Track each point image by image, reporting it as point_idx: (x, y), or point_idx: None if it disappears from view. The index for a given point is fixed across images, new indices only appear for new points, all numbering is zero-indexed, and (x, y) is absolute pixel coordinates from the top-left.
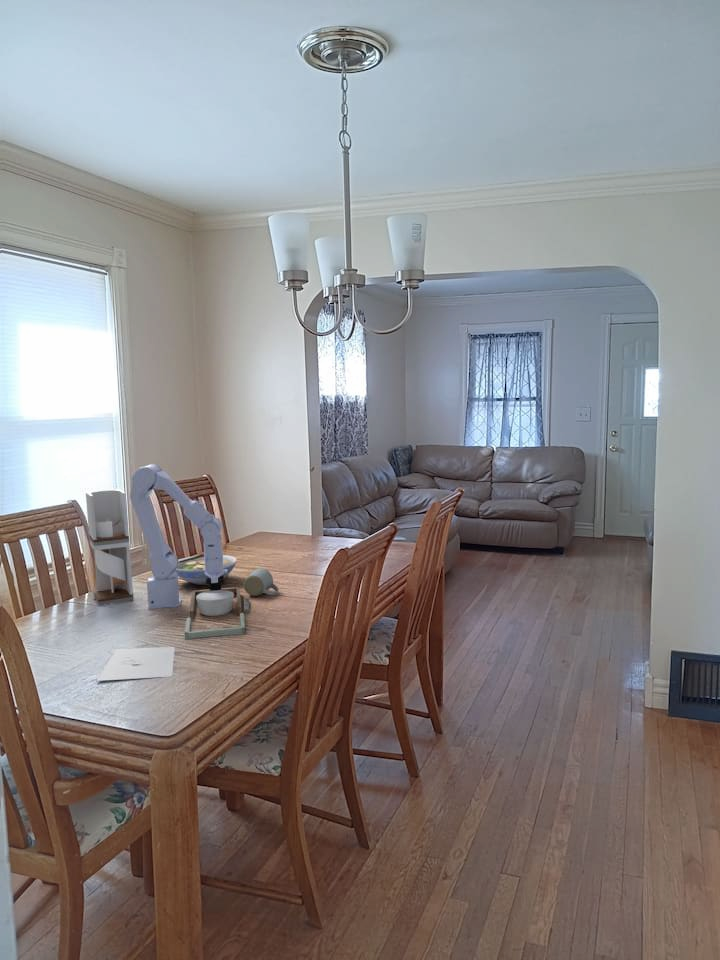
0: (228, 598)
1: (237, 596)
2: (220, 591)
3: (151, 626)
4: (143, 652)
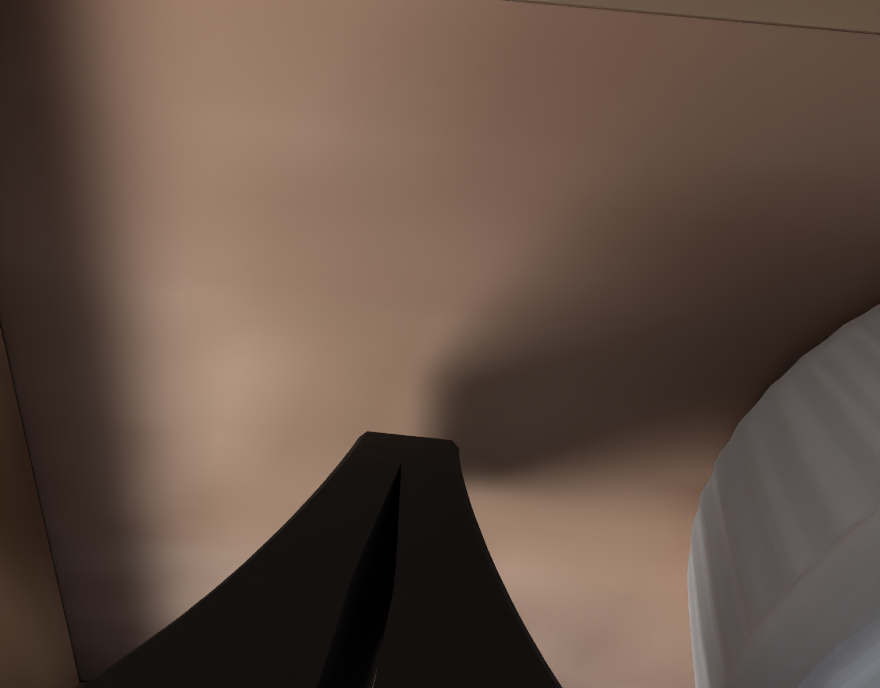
0: None
1: (868, 11)
2: (868, 677)
3: None
4: None
